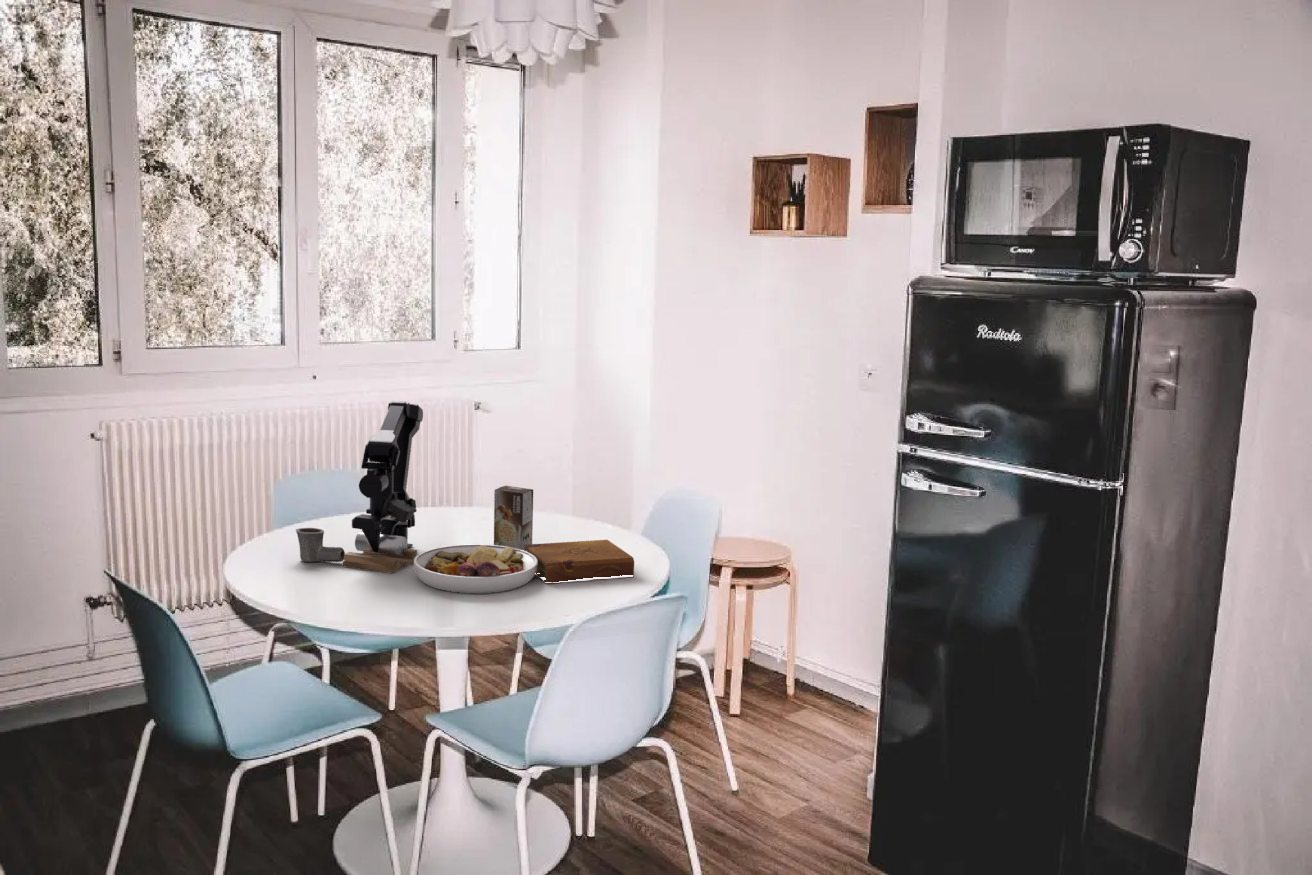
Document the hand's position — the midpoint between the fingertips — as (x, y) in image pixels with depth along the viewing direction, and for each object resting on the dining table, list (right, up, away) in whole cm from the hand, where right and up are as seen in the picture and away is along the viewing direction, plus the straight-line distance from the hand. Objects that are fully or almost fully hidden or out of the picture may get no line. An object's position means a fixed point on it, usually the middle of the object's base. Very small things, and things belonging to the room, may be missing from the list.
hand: (381, 549), depth 298 cm
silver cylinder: (0, +1, 0) cm, 2 cm away
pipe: (-16, -3, 0) cm, 16 cm away
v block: (0, -4, +1) cm, 4 cm away
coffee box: (+31, -2, +22) cm, 38 cm away
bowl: (+25, -7, -8) cm, 27 cm away
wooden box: (+49, -6, +3) cm, 50 cm away
